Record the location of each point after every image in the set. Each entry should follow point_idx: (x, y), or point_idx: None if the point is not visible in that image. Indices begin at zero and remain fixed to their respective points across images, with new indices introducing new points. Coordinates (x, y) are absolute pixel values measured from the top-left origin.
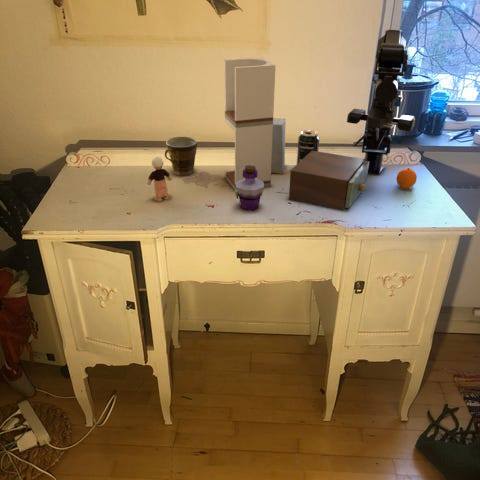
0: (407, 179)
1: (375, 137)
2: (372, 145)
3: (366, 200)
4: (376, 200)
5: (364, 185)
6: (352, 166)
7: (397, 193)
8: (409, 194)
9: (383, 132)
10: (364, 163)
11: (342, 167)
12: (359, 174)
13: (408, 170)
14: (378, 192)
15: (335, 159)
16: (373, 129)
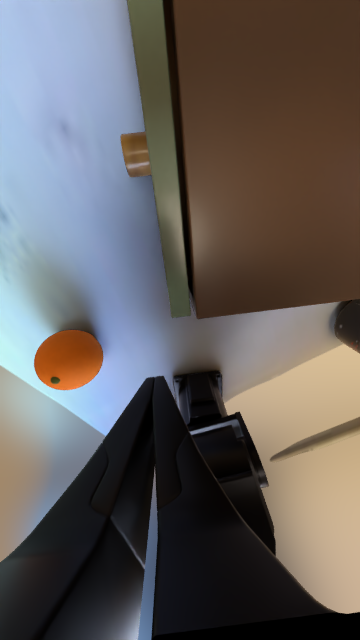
0: (47, 341)
1: (161, 447)
2: (213, 439)
3: (124, 184)
4: (96, 206)
5: (121, 141)
6: (225, 150)
7: (76, 299)
8: (47, 311)
9: (25, 566)
10: (182, 276)
11: (291, 72)
12: (130, 25)
13: (49, 372)
14: (124, 275)
15: (348, 222)
16: (196, 605)
